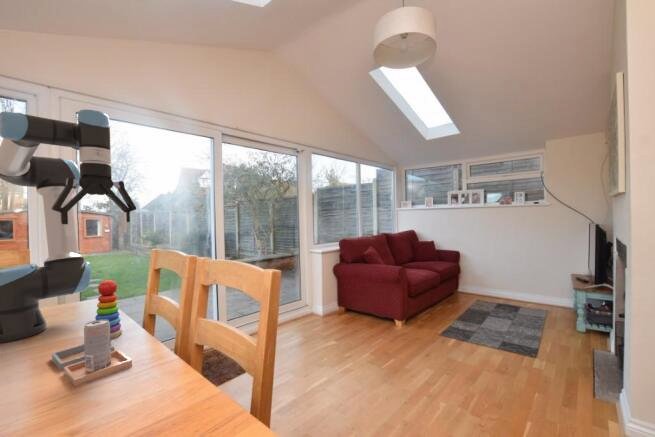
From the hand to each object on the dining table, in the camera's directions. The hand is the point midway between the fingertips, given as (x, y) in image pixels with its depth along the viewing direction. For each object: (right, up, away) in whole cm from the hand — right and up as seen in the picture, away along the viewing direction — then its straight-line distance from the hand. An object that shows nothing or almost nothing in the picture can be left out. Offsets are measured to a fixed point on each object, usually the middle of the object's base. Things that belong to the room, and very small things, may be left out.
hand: (98, 234), depth 91 cm
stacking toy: (-4, -35, +9) cm, 36 cm away
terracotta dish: (+10, -35, -12) cm, 38 cm away
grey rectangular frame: (-1, -35, -4) cm, 35 cm away
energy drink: (+9, -35, -12) cm, 38 cm away
